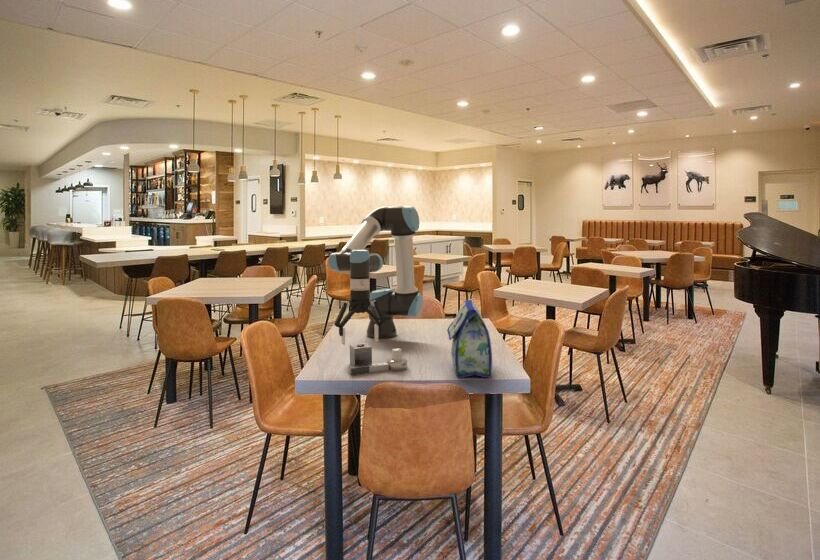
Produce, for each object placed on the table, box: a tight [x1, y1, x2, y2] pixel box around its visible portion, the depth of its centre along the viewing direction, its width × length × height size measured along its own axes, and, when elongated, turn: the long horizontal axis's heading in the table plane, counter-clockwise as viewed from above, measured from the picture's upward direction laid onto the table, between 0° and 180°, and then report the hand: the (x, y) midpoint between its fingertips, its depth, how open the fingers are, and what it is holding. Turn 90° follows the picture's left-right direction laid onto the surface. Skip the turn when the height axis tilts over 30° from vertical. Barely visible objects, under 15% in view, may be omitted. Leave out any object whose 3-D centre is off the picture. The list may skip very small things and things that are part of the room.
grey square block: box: [349, 342, 373, 366], centre depth 190 cm, size 7×7×8 cm
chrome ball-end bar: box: [348, 347, 408, 376], centre depth 184 cm, size 8×23×8 cm, turn 113°
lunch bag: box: [447, 299, 493, 378], centre depth 183 cm, size 22×17×26 cm
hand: (360, 342), depth 189 cm, fingers open, 13 cm apart
